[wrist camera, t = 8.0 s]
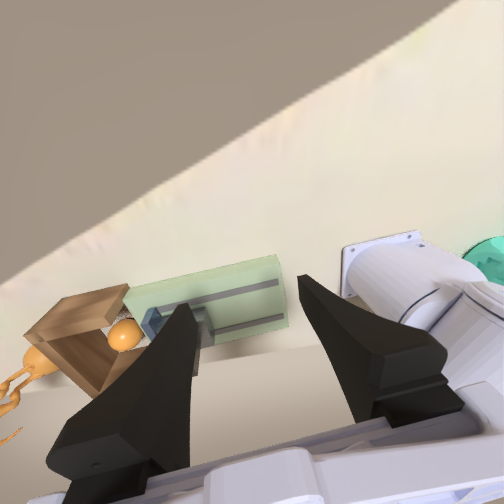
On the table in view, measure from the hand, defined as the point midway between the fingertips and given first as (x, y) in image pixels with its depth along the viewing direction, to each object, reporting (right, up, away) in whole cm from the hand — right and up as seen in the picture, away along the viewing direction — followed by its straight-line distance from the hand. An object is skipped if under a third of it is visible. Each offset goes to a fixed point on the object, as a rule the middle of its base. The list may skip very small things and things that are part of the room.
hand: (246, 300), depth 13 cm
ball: (-14, -7, +11) cm, 19 cm away
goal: (-16, -6, +12) cm, 21 cm away
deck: (-4, -3, +12) cm, 14 cm away
